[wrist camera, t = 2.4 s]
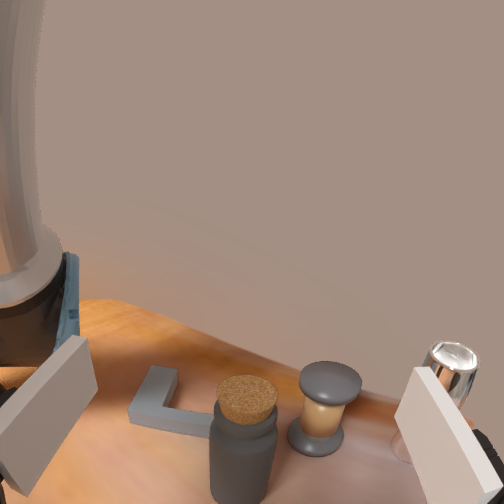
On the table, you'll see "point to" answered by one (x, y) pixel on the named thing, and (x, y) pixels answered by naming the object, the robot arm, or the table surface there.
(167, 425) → the notch board
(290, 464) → the table surface
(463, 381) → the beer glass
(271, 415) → the bottle
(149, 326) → the table surface
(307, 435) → the bobbin
